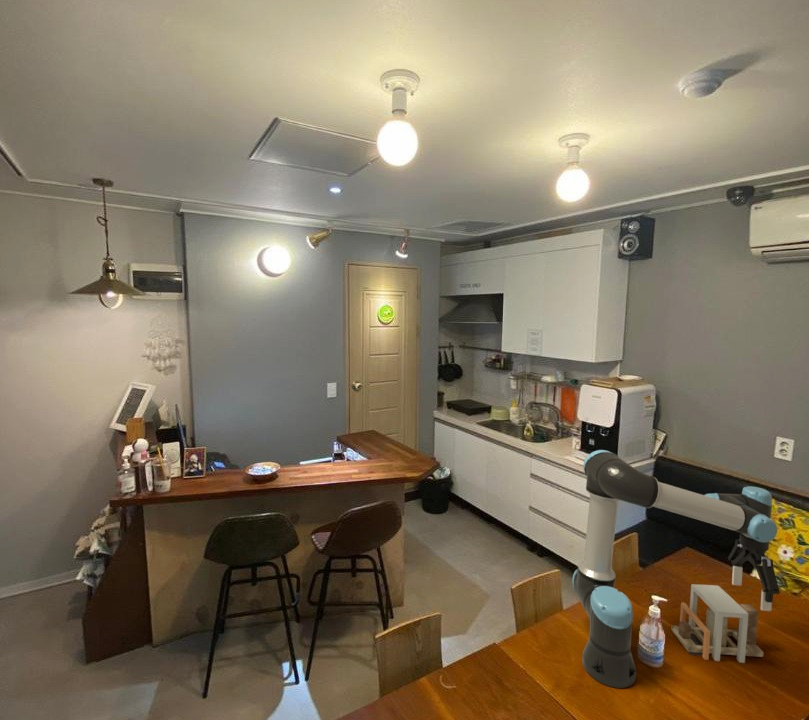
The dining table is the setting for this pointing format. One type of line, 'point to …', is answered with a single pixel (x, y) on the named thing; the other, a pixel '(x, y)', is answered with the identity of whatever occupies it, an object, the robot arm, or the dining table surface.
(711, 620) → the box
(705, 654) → the grey and orange stand
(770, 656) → the dining table surface
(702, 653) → the pit mat
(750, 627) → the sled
